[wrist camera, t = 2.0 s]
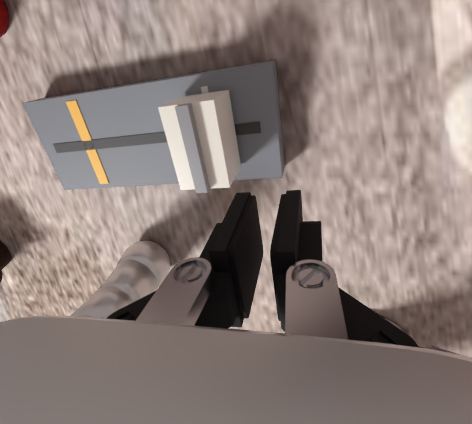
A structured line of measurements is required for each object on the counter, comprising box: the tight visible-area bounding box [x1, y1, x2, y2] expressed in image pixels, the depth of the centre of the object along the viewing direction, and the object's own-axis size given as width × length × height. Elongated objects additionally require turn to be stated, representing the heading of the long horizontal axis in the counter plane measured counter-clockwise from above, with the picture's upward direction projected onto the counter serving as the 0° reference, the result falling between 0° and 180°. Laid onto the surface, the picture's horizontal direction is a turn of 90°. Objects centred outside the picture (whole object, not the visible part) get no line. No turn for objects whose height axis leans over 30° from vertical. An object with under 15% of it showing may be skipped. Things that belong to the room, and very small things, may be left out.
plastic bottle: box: [71, 241, 170, 319], centre depth 34 cm, size 6×7×20 cm
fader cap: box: [158, 90, 241, 193], centre depth 25 cm, size 4×7×5 cm, turn 9°
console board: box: [22, 60, 285, 190], centre depth 31 cm, size 26×10×3 cm, turn 99°
